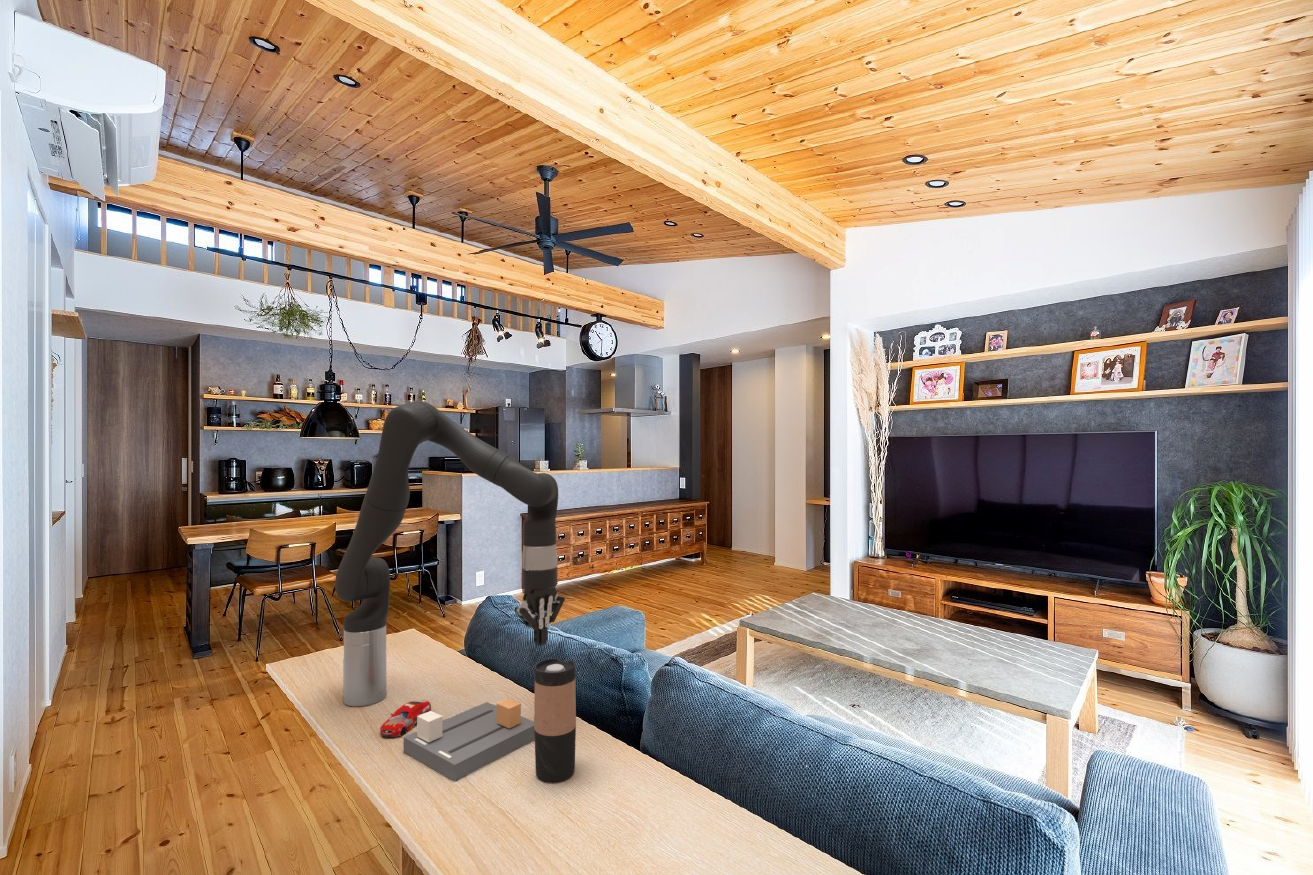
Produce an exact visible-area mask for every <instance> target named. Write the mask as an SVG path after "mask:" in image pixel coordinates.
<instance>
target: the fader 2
mask: <svg viewBox="0 0 1313 875" xmlns="http://www.w3.org/2000/svg"><path fill="white" fill-rule="evenodd" d="M496 706H497V723H498V724H500V725H502V726H505V727H507V728H511V727H514V726H516V725H518V724H520V723H521V716H522V715H521V713H522V704H521V703H520V702H517V701H515V700H512V699H511V698H507V699H504V700H502V701H499V702H498V703H496Z"/></svg>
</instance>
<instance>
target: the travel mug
mask: <svg viewBox="0 0 1313 875" xmlns="http://www.w3.org/2000/svg"><path fill="white" fill-rule="evenodd" d="M576 692H577V691H576V664H575V662H574V660H571V659H569V660H567V661H562V660H560V659H559V658H557V657H556V658H555V657H551V658H545V659H543V660H541V661H539V662H537V663H536V664H535V666H534V701H533V702H534V706H533V708H534V715H533V717H534V718H533V719H534V720H533V721H534V735H535V740H534V756H535V757H534V758H535V759H534V760H535V761H534V762H535V775H536V776H535V777H536V778H537V779H538V780H539V781H541V782H543V783H546V784H558V783H563V782H566V781H567V780H569V779H570V778H572V777H573V776H574V773H575V767H576V736H577V735H576V734H577V733H576V732H577V710H576V709H577V708H576V706H577V704H576V699H577V698H576V695H577V694H576Z"/></svg>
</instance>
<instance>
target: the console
mask: <svg viewBox="0 0 1313 875" xmlns="http://www.w3.org/2000/svg"><path fill="white" fill-rule="evenodd" d="M402 737H403V738H402V739H403V742H402V743H403V753H404V754H406V755H408V756H409V757H411V758H413V759H415V760H416V761H418V762H420V763H422V764H423V765H425V766H427V767H428V768H430V769H432V770H434V771H435V772H437V773H439V774H441V775H443V776H444V777H446V778H448V779H449V780H452V781H453V782H456V781H458V780H460V779H462V778H464V777H466V776H468V775H469V774H472V773H473V772H475V771H477V770H480V769H481V768H483V767H485V766H487V765H489V764H490V763H492V762H494V761H497V760H498V759H501V758H502V757H504V756H506V755H508V754H510V753H511V752H514V751H516V750H517V749H520V748H521V747H523V746H525V745H527V744H529V743H531V742H533V741H535V735H534V720H532V719H529V718H527V717H524V716H522V715H521V723H520V724H518V725H516V726H514V727H511V728H507V727H505V726H502V725H500V724H498V723H497V705H495V704H492V703H490V702H488V701H486V702H483V703H481V704H479V705H477V706H474V707H471V708H470V709H467V710H464V711H463V712H460V713H458V714H455V715H453V716H450V717H448V718H445V719H442V737H440V738H438V739H436V740H433V741H431V742H427V741H425V740H423V739H421V738H419V737H417V731H415V732H412V733H410V734H408V735H405V736H402Z"/></svg>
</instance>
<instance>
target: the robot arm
mask: <svg viewBox="0 0 1313 875" xmlns="http://www.w3.org/2000/svg"><path fill="white" fill-rule="evenodd" d="M427 441H428V442H432V443H434V444H437V445H440V446H441V447H444V448H445V449H448V450H449V451H450V452H452V453H453V454H454V455H455V456H456V457H457V458H458V459H459V460H460V461H461V462H462V463H463V465H465V466H466V467H467V468H468V469H469V470H470V471H471V472H472V473H474V474H475V475H476V476H478V477H481V478H482V479H484V480H486V481H488V482H490V483H492V484H493V485H496V486H497V487H500V488H501V489H503V490H504V491H506V492H507V493H508V494H510V496H512V497H513V498H515V499H516V500H518V501H520V502H521V503H522V504H525V505H527V513H526V514H527V515H526V518H525V520H524V523H523V529H522V532H523V536H522V537H523V538H522V539H523V542H522V544H523V549H522V557H521V559H522V560H521V561H522V567H521V568H522V572H521V573H522V587H523V589H524V594H523V597H522V602H521V603H520V605H519V606H518V605H517V606H515V607H514V612H515V614H516V615H517V616H518V617H519V619H520V620H521V621H522V623H523V624H524V626H525V627H528V628H532V629H533V643H534V644H535V645H536V646H538V647H541V646H545V645H547V641H548V639H549V638H548V636H549V635H548V634H549V632H548V631H549V630H548V629H549V628H548V627H549V626H550V624H551V623H554V622H555V621H556V619H557V617H558V615H559V612H560V611H561V608H562V607H563V604H564V602H565V600H566V599H565V596H560V595H559V594H558V589H557V586H558V575H559V574H558V549H557V527H556V525H557V523H556V521H557V520H556V519H557V511H558V507H559V506H558V504H559V485H558V482H557V480H556V479H555V478H554V476H553V475H551V474H549V473H545V472H540V473H537V472H535V471H533V470H532V469H529V468H528V467H526V466H524V465H522V464H521V463H520V461H519V460H517V459H516V458H515V457H513V456H511V455H509V454H508V453H506V452H504V451H502V450H500V449H498V448H497V447H494V446H493V445H491V444H489V443H487V442H486V441H483V440H481V439H480V438H478V437H477V436H475V435H473V434H472V433H471V432H469V431H468V430H466V429H465V428H464V427H463V426H461V425H459V424H458V423H456V421H453V419H451V418H450V417H448V416H447V415H446V414H445V413H443V412H442V411H441V410H440V409H438V408H436V406H434V405H432V404H431V403H428V402H427V401H424V400H423V401H422V400H415V401H409V402H406V403H404V404H401V405H397V406H395V407H394V408H392V409H391V410H390V411H389V412H388V413H387V415H386V417H385V419H384V422H383V427H382V432H381V436H380V442H379V447H378V448H379V449H378V451H377V452H378V453H377V457H376V460H375V464H374V466H373V470H372V474H371V476H370V480H369V484H368V486H367V489H366V492H365V495H364V498H363V501H362V504H361V508H360V512H359V515H358V518H357V521H356V524H355V526H354V527H355V528H354V530H353V533H352V536H351V539H350V541H349V544H348V546H347V548H346V550H345V552H344V555H343V557H342V560H341V561H340V564H339V566H338V568H337V571H336V575H335V581H334V582H335V583H334V587H335V588H334V589H335V594H336V596H337V597H338V598H339V600H341V601H343V602H349V603H350V602H351V603H352V602H356V601H361V600H363V601H362V602H361V604H359V606H358V607H357V608H356V609H354V610H352V611H351V612H349V613H348V614H347V615H346V616H345V617H344V619H343V659H342V660H343V662H342V663H343V672H342V673H343V676H342V678H343V680H342V682H343V684H342V687H343V691H342V692H343V697H342V698H343V703H344V705H346V706H347V707H348V706H349V707H364V706H368V705H369V706H370V705H373V704H377V703H378V702H381V701H383V700H384V699H385V698H386V696H387V680H388V678H387V675H388V673H387V618H388V615H389V611H390V610H389V609H390V592H391V591H390V590H391V573H390V568H389V565H388V563H387V562H386V560H384V559H383V558H382V557H372V556H373V555H374V553H375V552H376V550H378V549H379V548H380V547H381V545H383V544H384V542H385V541H386V542H387V540H388V539H389V538H390V537H391V536H392V535H393V534H394V532H395V531H397V529H398V528H399V526H400V525H401V524H402V522H403V519H404V516H405V513H406V512H407V507H408V505H409V501H410V498H411V497H410V495H411V490H410V484H409V478H408V477H409V476H408V473H409V468H410V464H411V462H412V459H413V457H414V454H415V452H416V450H417V448H418V447H419V445H420V444H422V443H424V442H427ZM371 557H372V558H371Z"/></svg>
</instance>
